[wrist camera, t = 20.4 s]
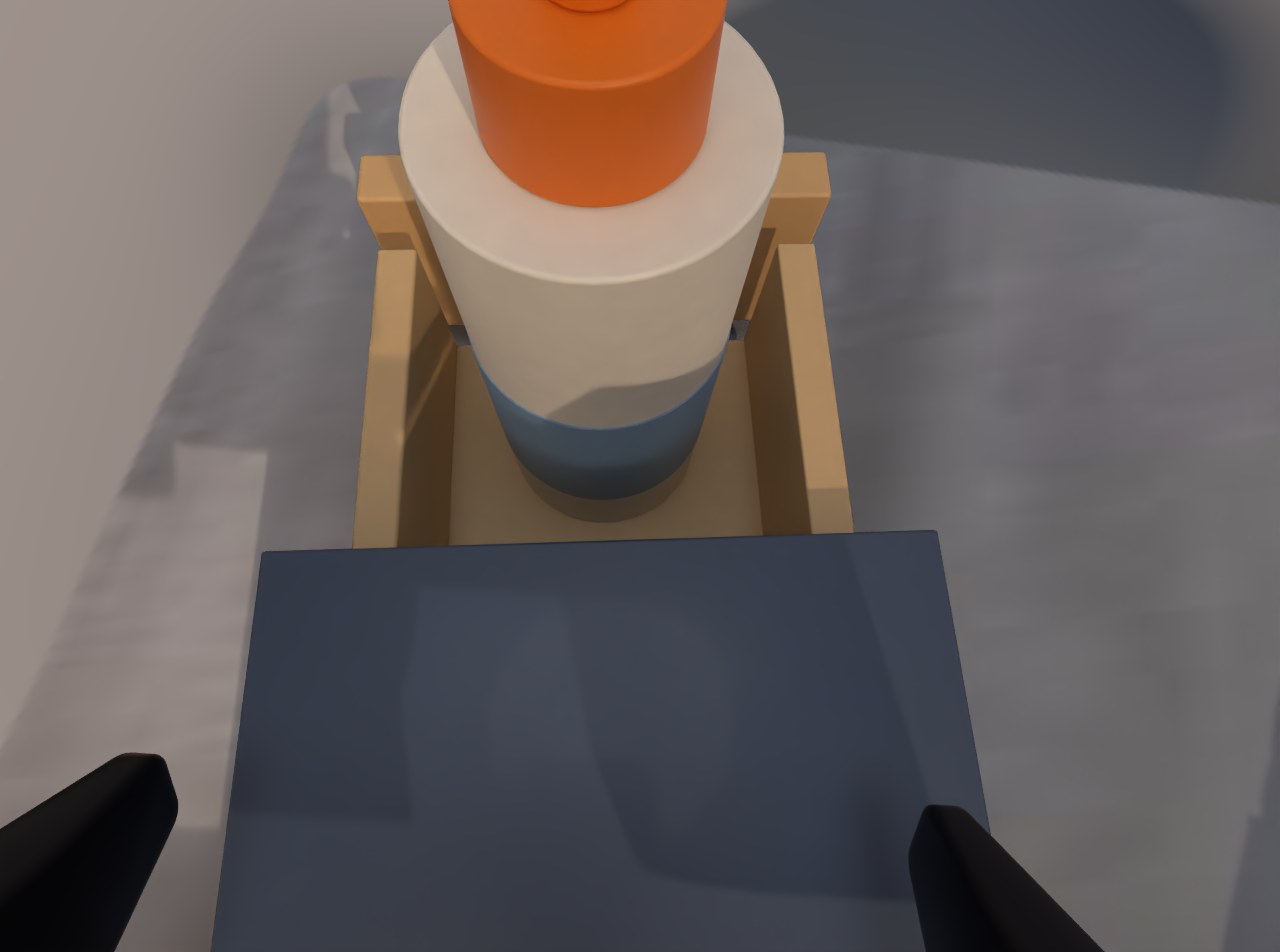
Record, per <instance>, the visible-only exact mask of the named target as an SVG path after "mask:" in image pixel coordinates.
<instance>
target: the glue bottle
mask: <svg viewBox="0 0 1280 952" xmlns="http://www.w3.org/2000/svg"><path fill="white" fill-rule="evenodd" d="M448 1H449V6H450V10H451V15H452V19H453V22H452V23H451V24H450V25H448V26H447V27H446V28H445V29H444V30H443V31H442V32H441V33H440V34H439V35H438V36H437V37H436V38H435V39H434V40H433V41H432V42H431V43H430V45H429V46H428V47H427V49H426V50H425V51H424V53H423V54H422V55H421V57H420V58H419V60H418V61H417V63H416V65H415V67H414V69H413V71H412V72H411V74H410V76H409V79H408V82H407V84H406V87H405V90H404V93H403V96H402V101H401V107H400V112H399V118H398V142H399V148H400V155H401V160H402V163H403V167H404V170H405V173H406V176H407V179H408V181H409V184H410V187H411V189H412V192H413V194H414V197H415V199H416V202H417V205H418V207H419V210H420V212H421V215H422V217H423V220H424V223H425V225H426V228H427V230H428V233H429V235H430V238H431V241H432V243H433V246H434V248H435V251H436V253H437V256H438V259H439V261H440V264H441V266H442V269H443V272H444V274H445V277H446V279H447V282H448V284H449V287H450V290H451V292H452V295H453V297H454V300H455V302H456V305H457V308H458V310H459V313H460V315H461V318H462V320H463V323H464V326H465V328H466V331H467V333H468V339H469V342H470V345H471V348H472V351H473V354H474V356H475V359H476V361H477V364H478V367H479V369H480V372H481V374H482V377H483V379H484V382H485V384H486V387H487V389H488V392H489V394H490V397H491V399H492V402H493V405H494V407H495V410H496V412H497V415H498V417H499V420H500V422H501V425H502V427H503V430H504V432H505V435H506V438H507V440H508V442H509V444H510V446H511V448H512V450H513V452H514V454H515V457H516V459H517V462H518V464H519V467H520V470H521V472H522V474H523V476H524V478H525V479H526V481H527V482H528V484H529V485H530V487H531V488H532V489H533V491H534V492H535V493H536V494H537V495H538V496H539V497H540V498H541V499H542V500H544V501H545V502H546V503H547V504H548V505H550V506H551V507H553V508H555V509H556V510H558V511H560V512H562V513H564V514H566V515H568V516H571V517H574V518H577V519H581V520H586V521H592V522H615V521H621V520H626V519H630V518H633V517H636V516H639V515H641V514H643V513H645V512H647V511H649V510H651V509H653V508H654V507H656V506H657V505H659V504H660V503H661V502H663V501H664V500H665V499H666V498H667V497H668V496H669V495H670V494H671V493H672V492H673V491H674V489H675V488H676V487H677V486H678V484H679V483H680V481H681V480H682V478H683V476H684V474H685V472H686V470H687V468H688V465H689V462H690V458H691V455H692V452H693V449H694V446H695V444H696V442H697V439H698V437H699V434H700V431H701V427H702V424H703V421H704V418H705V415H706V411H707V408H708V405H709V402H710V398H711V395H712V392H713V389H714V386H715V382H716V379H717V376H718V373H719V370H720V366H721V363H722V360H723V357H724V354H725V350H726V347H727V344H728V341H729V337H730V330H731V325H732V321H733V318H734V315H735V312H736V308H737V305H738V302H739V299H740V295H741V292H742V289H743V286H744V282H745V279H746V276H747V273H748V269H749V266H750V263H751V260H752V256H753V253H754V250H755V246H756V243H757V240H758V237H759V233H760V230H761V227H762V224H763V220H764V217H765V214H766V211H767V207H768V204H769V201H770V198H771V194H772V191H773V188H774V185H775V181H776V178H777V175H778V171H779V168H780V165H781V162H782V155H783V147H784V120H783V115H782V110H781V105H780V100H779V97H778V94H777V91H776V88H775V86H774V83H773V80H772V78H771V76H770V74H769V73H768V71H767V69H766V67H765V65H764V63H763V62H762V60H761V59H760V58H759V56H758V55H757V54H756V52H755V51H754V49H753V48H752V47H751V46H750V44H749V43H748V42H747V41H746V40H745V39H744V38H743V37H742V36H741V35H740V34H739V33H738V32H737V31H736V30H735V29H734V28H733V27H731V26H730V25H729V24H728V23H726V22H725V21H724V18H725V12H726V6H727V0H448Z"/></svg>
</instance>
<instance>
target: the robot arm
mask: <svg viewBox="0 0 1280 952" xmlns="http://www.w3.org/2000/svg"><path fill="white" fill-rule="evenodd" d="M177 813H178V799H177V796H176V792H175V789H174V786H173V783H172V780H171V777H170V773H169V770H168V767H167V764H166V762H165V760H164V759H163V758H162V757H161V756H160V755H157V754H146V753H124V754H121V755H119V756H117V757H115V758H113V759H111V760H110V761H108V762H107V763H105V764H103V765H102V766H100V767H99V768H97V769H95V770H94V771H92V772H91V773H89V774H87V775H86V776H84V777H83V778H81V779H79V780H78V781H76V782H75V783H73V784H71V785H70V786H68V787H67V788H65V789H63V790H62V791H60V792H59V793H57V794H55V795H54V796H52V797H51V798H49V799H47V800H46V801H44V802H43V803H41V804H39V805H38V806H36V807H35V808H33V809H31V810H30V811H28V812H27V813H25V814H23V815H22V816H20V817H19V818H17V819H15V820H14V821H12V822H11V823H9V824H7V825H6V826H4V827H3V828H1V829H0V952H114V951H115V949H116V947H117V945H118V943H119V941H120V939H121V937H122V935H123V932H124V930H125V928H126V926H127V924H128V922H129V920H130V918H131V915H132V913H133V911H134V909H135V907H136V905H137V903H138V900H139V898H140V896H141V894H142V892H143V890H144V888H145V886H146V883H147V881H148V879H149V877H150V875H151V873H152V871H153V868H154V866H155V864H156V862H157V860H158V858H159V856H160V854H161V851H162V849H163V847H164V845H165V843H166V841H167V839H168V837H169V834H170V832H171V830H172V828H173V826H174V823H175V821H176V817H177ZM908 864H909V872H910V877H911V882H912V887H913V892H914V897H915V902H916V907H917V911H918V916H919V921H920V926H921V931H922V936H923V941H924V946H925V951H926V952H1104V951H1103V950H1102V949H1101V948H1100V947H1099V946H1098V945H1097V944H1096V943H1095V941H1094V940H1093V939H1092V938H1091V937H1090V936H1089V935H1088V934H1087V933H1086V932H1085V931H1084V930H1083V929H1082V928H1081V927H1080V926H1079V925H1078V924H1077V923H1076V922H1075V921H1074V920H1073V919H1072V918H1071V917H1070V916H1069V915H1068V914H1067V913H1066V912H1065V911H1064V910H1063V909H1062V908H1061V907H1060V906H1059V905H1058V904H1057V903H1056V902H1055V901H1054V900H1053V899H1052V897H1051V896H1050V895H1049V894H1048V893H1047V892H1046V891H1045V890H1044V889H1043V888H1042V887H1041V886H1040V885H1039V884H1038V883H1037V882H1036V881H1035V880H1034V879H1033V878H1032V877H1031V876H1030V875H1029V874H1028V873H1027V872H1026V871H1025V870H1024V869H1023V868H1022V867H1021V866H1020V865H1019V864H1018V863H1017V862H1016V861H1015V860H1014V859H1013V858H1012V857H1011V856H1010V855H1009V854H1008V852H1007V851H1006V850H1005V849H1004V848H1003V847H1002V846H1001V845H1000V844H999V843H998V842H997V841H996V840H995V839H994V838H993V837H992V836H991V835H990V834H989V833H988V832H987V831H986V830H985V829H984V828H983V827H982V826H981V825H980V824H979V823H978V822H977V821H976V820H975V819H974V818H973V817H972V816H971V815H970V814H969V813H968V812H967V811H966V810H964V809H963V808H961V807H958V806H951V805H935V804H931V805H928V806H926V807H925V808H924V810H923V812H922V814H921V817H920V820H919V822H918V825H917V828H916V831H915V834H914V836H913V839H912V842H911V845H910V848H909V854H908Z"/></svg>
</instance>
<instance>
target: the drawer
mask: <svg viewBox="0 0 1280 952" xmlns="http://www.w3.org/2000/svg"><path fill="white" fill-rule="evenodd" d="M830 198H831V189H830V182H829V176H828V169H827V162H826V156H825V153H823V152H783V155H782V162H781V165H780V168H779V171H778V175H777V178H776V181H775V185H774V188H773V191H772V194H771V198H770V201H769V204H768V207H767V211H766V214H765V217H764V220H763V224H762V227H761V230H760V233H759V237H758V240H757V243H756V246H755V250H754V253H753V256H752V260H751V263H750V266H749V269H748V273H747V276H746V279H745V282H744V286H743V289H742V292H741V295H740V299H739V302H738V305H737V308H736V312H735V315H734V318H733V320H751V321H750V324H749V327H748V330H747V332H746V335H745V338H744V340H729V341H728V344H727V347H726V350H725V354H724V357H723V360H722V363H721V366H720V370H719V373H718V376H717V379H716V382H715V386H714V389H713V392H712V395H711V398H710V402H709V405H708V408H707V411H706V415H705V418H704V421H703V424H702V427H701V431H700V434H699V437H698V439H697V442H696V444H695V446H694V449H693V452H692V455H691V458H690V462H689V465H688V468H687V470H686V472H685V474H684V476H683V478H682V480H681V481H680V483H679V484H678V486H677V487H676V488H675V489H674V491H673V492H672V493H671V494H670V495H669V496H668V497H667V498H666V499H665V500H664V501H663V502H661V503H660V504H659V505H657V506H656V507H654V508H653V509H651V510H649V511H647V512H645V513H643V514H641V515H639V516H636V517H633V518H630V519H626V520H621V521H615V522H592V521H586V520H581V519H577V518H574V517H571V516H568V515H566V514H564V513H562V512H560V511H558V510H556V509H555V508H553V507H551V506H550V505H548V504H547V503H546V502H545V501H544V500H542V499H541V498H540V497H539V496H538V495H537V494H536V493H535V492H534V491H533V489H532V488H531V487H530V485H529V484H528V482H527V481H526V479H525V478H524V476H523V474H522V472H521V470H520V467H519V464H518V462H517V459H516V457H515V454H514V452H513V450H512V448H511V446H510V444H509V442H508V440H507V438H506V435H505V432H504V430H503V427H502V425H501V422H500V420H499V417H498V415H497V412H496V410H495V407H494V405H493V402H492V399H491V397H490V394H489V392H488V389H487V387H486V384H485V382H484V379H483V377H482V374H481V372H480V369H479V367H478V364H477V361H476V359H475V356H474V354H473V351H472V348H471V345H457V344H456V341H455V339H454V337H453V334H452V332H451V330H450V327H449V325H464V323H463V320H462V318H461V315H460V313H459V310H458V308H457V305H456V302H455V300H454V297H453V295H452V292H451V290H450V287H449V284H448V282H447V279H446V277H445V274H444V272H443V269H442V266H441V264H440V261H439V259H438V256H437V253H436V251H435V248H434V246H433V243H432V241H431V238H430V235H429V233H428V230H427V228H426V225H425V223H424V220H423V217H422V215H421V212H420V210H419V207H418V205H417V202H416V199H415V197H414V194H413V192H412V189H411V187H410V184H409V181H408V179H407V176H406V173H405V170H404V167H403V163H402V160H401V155H363V156H362V157H361V162H360V172H359V182H358V191H357V201H358V203H359V205H360V207H361V209H362V211H363V213H364V215H365V217H366V219H367V221H368V223H369V225H370V227H371V229H372V231H373V233H374V235H375V237H376V239H377V241H378V243H379V245H380V247H381V249H382V250H379V251H378V258H377V269H376V281H375V292H374V303H373V315H372V326H371V338H370V349H369V361H368V372H367V383H366V395H365V406H364V418H363V429H362V441H361V452H360V463H359V475H358V486H357V498H356V509H355V521H354V532H353V544H352V549H357V548H388V547H419V546H450V545H482V544H513V543H544V542H575V541H606V540H638V539H669V538H700V537H731V536H762V535H794V534H825V533H854V526H853V519H852V512H851V505H850V498H849V490H848V483H847V476H846V469H845V462H844V454H843V447H842V440H841V433H840V426H839V418H838V411H837V404H836V397H835V390H834V382H833V375H832V368H831V361H830V354H829V346H828V339H827V332H826V325H825V318H824V310H823V303H822V296H821V289H820V282H819V274H818V267H817V260H816V253H815V246H814V244H811V242H812V240H813V238H814V235H815V233H816V231H817V228H818V226H819V223H820V221H821V219H822V216H823V214H824V212H825V209H826V207H827V205H828V202H829V200H830Z"/></svg>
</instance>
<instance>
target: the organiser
mask: <svg viewBox="0 0 1280 952" xmlns="http://www.w3.org/2000/svg"><path fill="white" fill-rule="evenodd" d="M931 804H935V805H951V806H958V807H961V808H963V809H964V810H966V811H967V812H968V813H969V814H970V815H971V816H972V817H973V818H974V819H975V820H976V821H977V822H978V823H979V824H980V825H981V826H982V827H983V828H984V829H985V830H986V831H987V832H988V833H989V834H990V828H989V822H988V817H987V811H986V805H985V800H984V794H983V788H982V783H981V777H980V771H979V766H978V760H977V754H976V749H975V743H974V737H973V732H972V726H971V720H970V715H969V709H968V703H967V698H966V692H965V686H964V681H963V675H962V669H961V664H960V658H959V652H958V647H957V641H956V635H955V630H954V624H953V618H952V613H951V607H950V601H949V596H948V590H947V584H946V579H945V573H944V567H943V562H942V556H941V550H940V545H939V539H938V533H937V531H935V530H918V531H887V532H856V533H825V534H794V535H762V536H731V537H700V538H669V539H638V540H606V541H575V542H544V543H513V544H482V545H450V546H419V547H388V548H357V549H325V550H294V551H266V552H263V553H262V555H261V563H260V571H259V579H258V586H257V594H256V602H255V610H254V618H253V625H252V633H251V641H250V649H249V657H248V665H247V672H246V680H245V688H244V696H243V704H242V712H241V719H240V727H239V735H238V743H237V751H236V759H235V766H234V774H233V782H232V790H231V798H230V806H229V813H228V821H227V829H226V837H225V845H224V853H223V860H222V868H221V876H220V884H219V892H218V900H217V907H216V915H215V923H214V931H213V939H212V947H211V952H926V951H925V946H924V941H923V936H922V931H921V926H920V921H919V916H918V911H917V907H916V902H915V897H914V892H913V887H912V882H911V877H910V872H909V864H908V854H909V848H910V845H911V842H912V839H913V836H914V834H915V831H916V828H917V825H918V822H919V820H920V817H921V814H922V812H923V810H924V808H925V807H926V806H928V805H931ZM990 835H991V834H990Z"/></svg>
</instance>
